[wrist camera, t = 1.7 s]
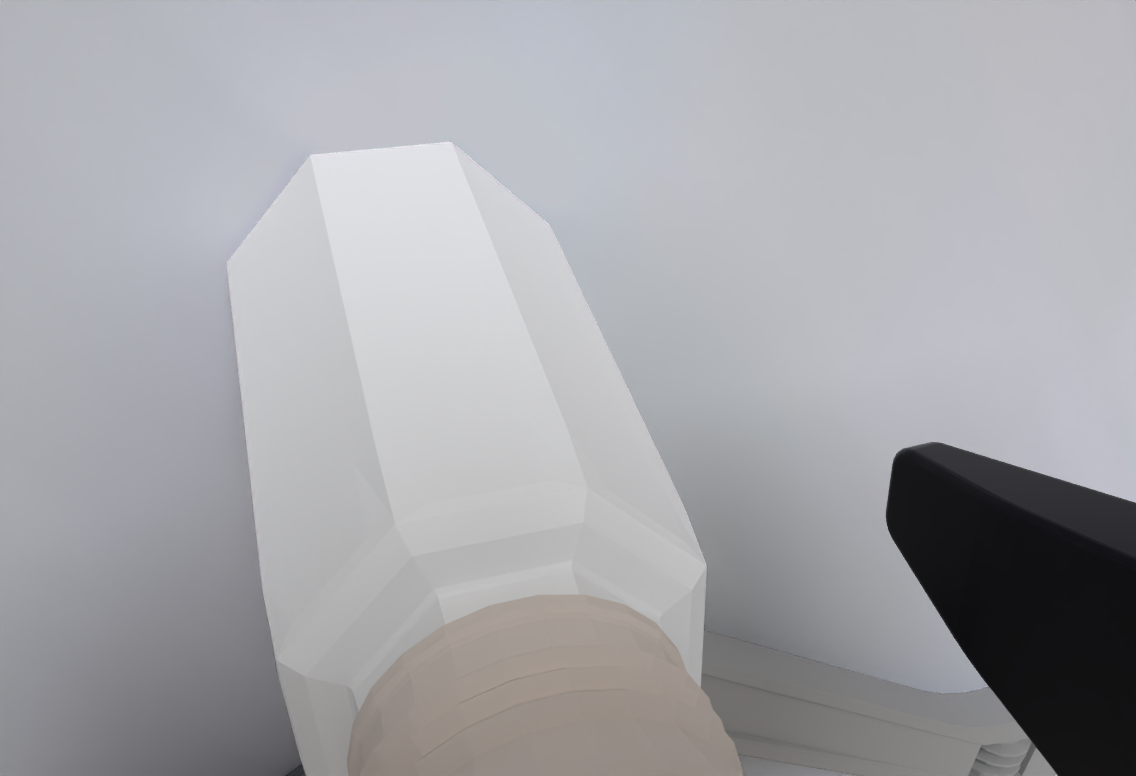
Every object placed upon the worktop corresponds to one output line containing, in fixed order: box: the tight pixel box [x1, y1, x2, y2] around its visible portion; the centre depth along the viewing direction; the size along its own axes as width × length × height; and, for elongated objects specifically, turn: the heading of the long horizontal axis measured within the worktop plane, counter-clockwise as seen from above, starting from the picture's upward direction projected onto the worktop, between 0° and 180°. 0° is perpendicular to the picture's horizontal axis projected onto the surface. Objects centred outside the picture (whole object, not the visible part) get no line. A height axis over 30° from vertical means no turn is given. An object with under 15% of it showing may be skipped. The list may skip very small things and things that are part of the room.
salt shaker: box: [227, 142, 744, 776], centre depth 9 cm, size 5×5×11 cm
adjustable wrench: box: [701, 630, 1056, 776], centre depth 21 cm, size 25×6×2 cm, turn 56°
